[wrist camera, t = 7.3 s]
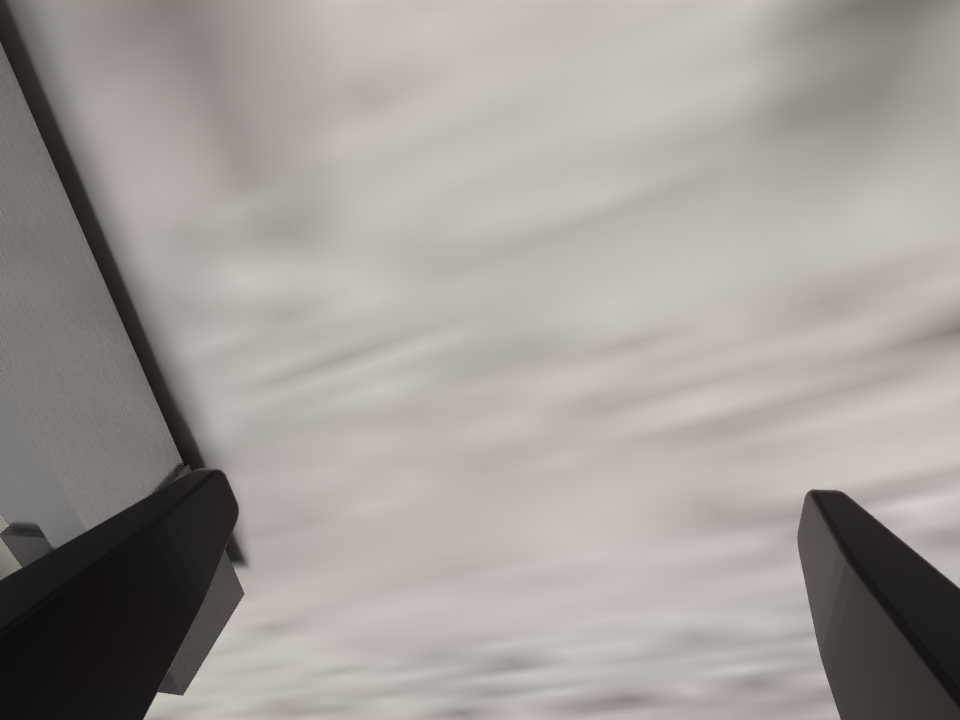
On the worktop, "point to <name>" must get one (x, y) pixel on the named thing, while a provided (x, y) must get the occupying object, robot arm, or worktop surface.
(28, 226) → the tongs arm
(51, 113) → the worktop surface
